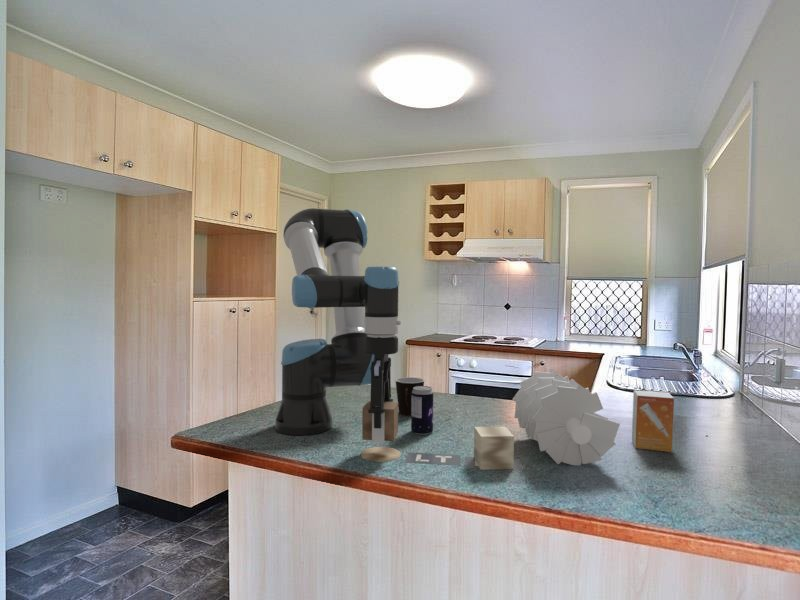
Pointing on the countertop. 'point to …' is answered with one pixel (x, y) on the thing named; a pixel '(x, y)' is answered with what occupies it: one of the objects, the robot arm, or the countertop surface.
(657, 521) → the countertop surface
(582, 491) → the countertop surface
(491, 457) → the birch block
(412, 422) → the beverage can
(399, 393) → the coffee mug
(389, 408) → the walnut block
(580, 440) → the spiral staircase
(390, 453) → the cork coaster
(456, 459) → the tile
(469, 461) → the code tile
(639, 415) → the small box
